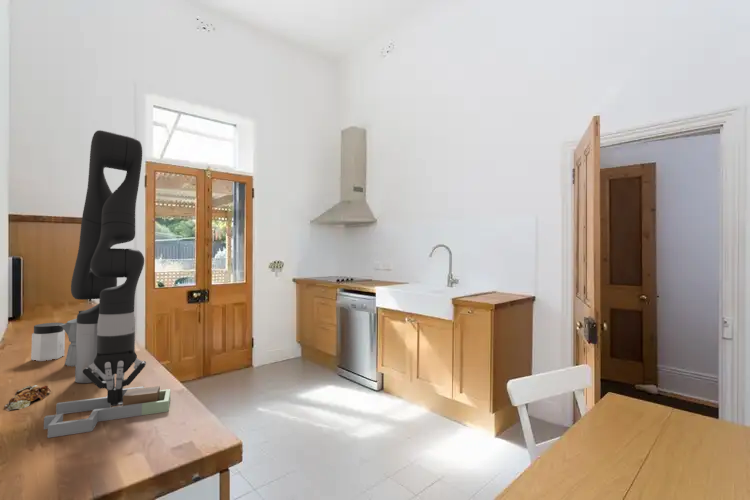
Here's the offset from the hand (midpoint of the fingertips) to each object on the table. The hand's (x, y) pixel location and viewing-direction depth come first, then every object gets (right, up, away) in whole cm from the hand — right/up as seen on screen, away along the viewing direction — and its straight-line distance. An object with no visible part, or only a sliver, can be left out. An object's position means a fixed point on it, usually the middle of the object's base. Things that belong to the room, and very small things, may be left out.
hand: (114, 403), depth 90 cm
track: (0, -2, 0) cm, 2 cm away
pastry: (-27, -2, +6) cm, 27 cm away
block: (+5, -2, +2) cm, 6 cm away
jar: (-55, -2, +45) cm, 71 cm away
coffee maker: (-38, -2, +40) cm, 56 cm away
